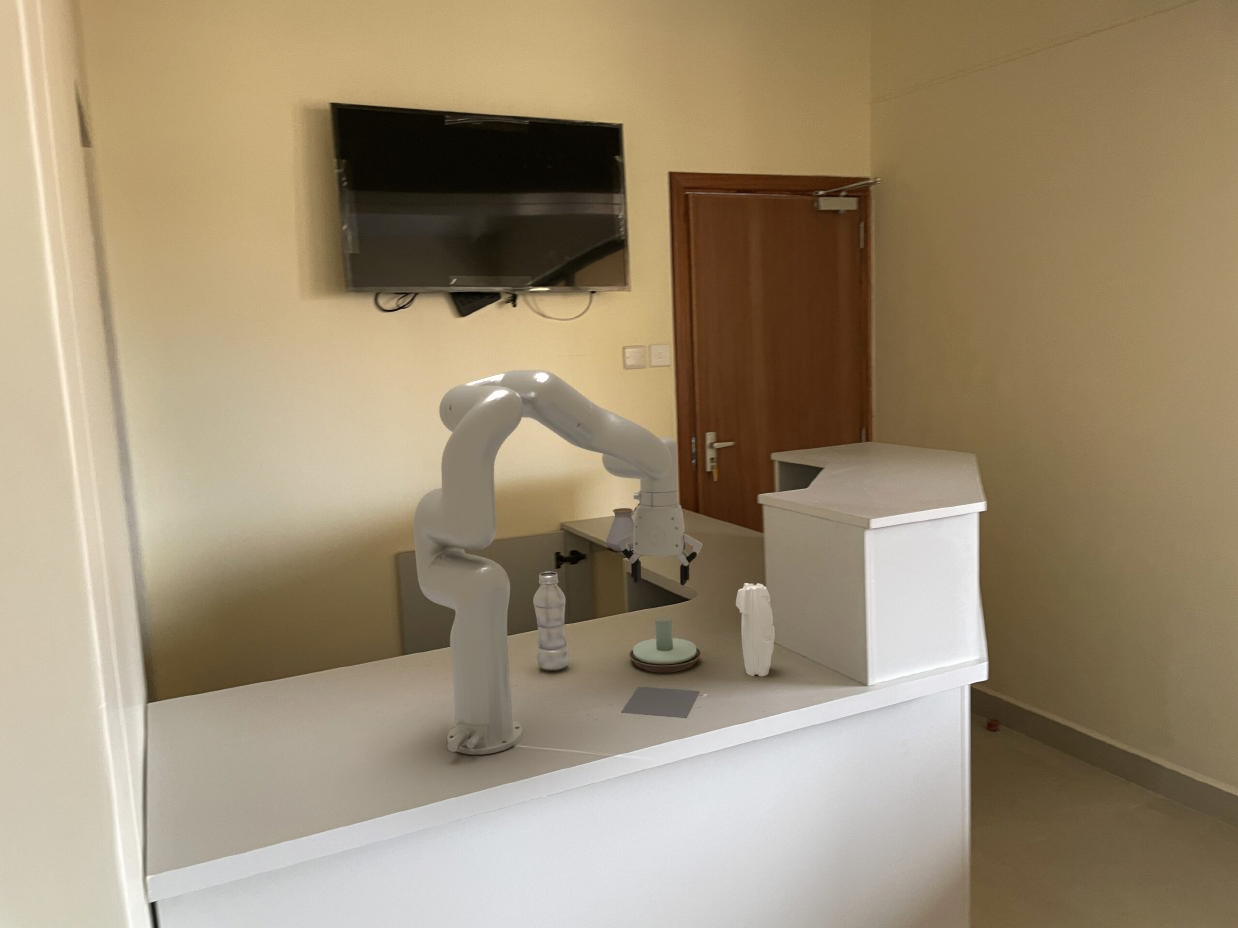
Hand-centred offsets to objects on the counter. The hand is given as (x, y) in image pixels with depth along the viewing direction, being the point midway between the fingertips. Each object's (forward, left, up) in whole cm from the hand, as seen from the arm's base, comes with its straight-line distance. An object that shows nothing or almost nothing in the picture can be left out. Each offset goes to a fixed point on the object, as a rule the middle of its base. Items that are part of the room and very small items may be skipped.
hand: (660, 582), depth 178 cm
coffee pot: (+102, +35, -18) cm, 109 cm away
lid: (+1, 0, -15) cm, 15 cm away
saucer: (+1, 0, -18) cm, 18 cm away
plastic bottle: (-6, +22, -18) cm, 29 cm away
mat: (-19, -4, -17) cm, 26 cm away
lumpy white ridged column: (-2, -19, -18) cm, 26 cm away
